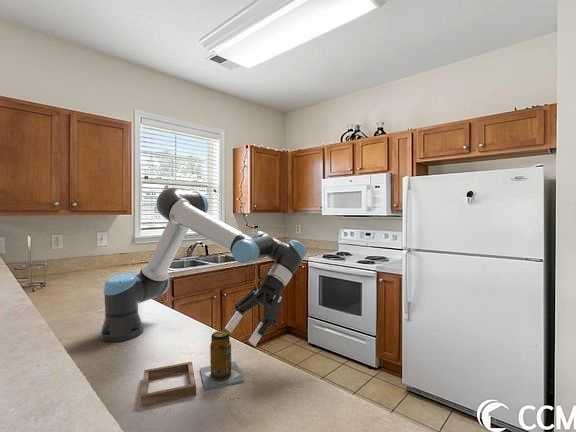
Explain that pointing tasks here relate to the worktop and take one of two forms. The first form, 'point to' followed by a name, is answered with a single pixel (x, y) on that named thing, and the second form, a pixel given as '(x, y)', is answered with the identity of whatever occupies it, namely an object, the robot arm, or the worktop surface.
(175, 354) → the worktop surface
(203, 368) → the mat
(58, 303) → the worktop surface
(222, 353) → the condiment
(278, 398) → the worktop surface
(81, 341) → the worktop surface
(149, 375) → the pocket
